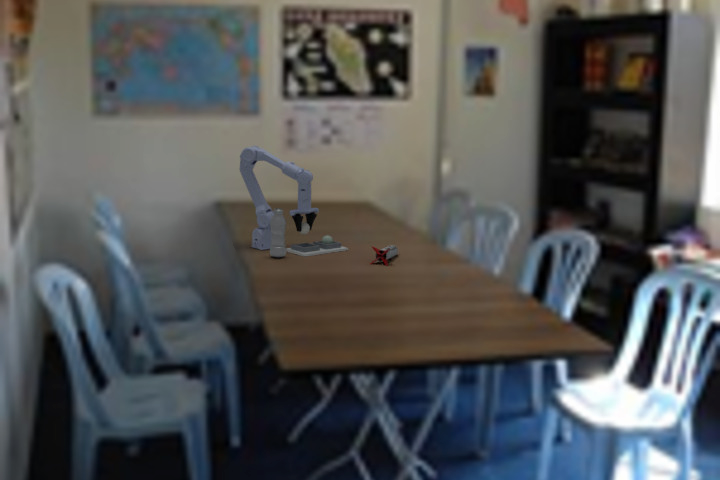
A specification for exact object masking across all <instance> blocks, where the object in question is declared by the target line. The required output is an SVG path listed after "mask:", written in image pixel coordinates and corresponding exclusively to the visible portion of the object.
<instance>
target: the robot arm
mask: <svg viewBox="0 0 720 480" xmlns="http://www.w3.org/2000/svg"><path fill="white" fill-rule="evenodd" d="M239 159H240V160H239V161H240V162H239V172H240V175H241V178H242V179H243V182H244V183H245V186H246V189H247V191H248V194H249V195H250V198H251V201H252V203H253V205H254V208H255V215H256V223H257V225H258V226H257V227H256V228H254V229H253V231H252V234H251V237H252V239H251V246H250V248H254V249H257V250H260V251H262V250H270V246H271V226H270V220H271V218H272V217H273V216H274V210H272V207H271V206H270V205H269V204H268V203H267V200H266V198H265V195H264V194H263V190H262V189H261V186H260V184H259V182H258V179H257V176H256V175H255V172H254V168H255V166H256V164H257V162H263V161H264V162H266V163H269V164H271V165H273V166H274V167H276V168H278V169H280V170H281V172H282V174H284V175H285V176H287V177H288V178H290V179H292V180H294V181H296V182H297V209H291V210H289V216H291V218H292V220H293V222H294V224H295V228H296V231H297V232H299V233H300V232H301V228H302V223H303V219H304V216H303V215H305V219H306V221H305V222H306V223H307V224H308V225H309V226H310V230H309V231H312V227H313V224H314V223H315V222H314V221H315V220H316V218H317V216H318V215H317V214H319V212H320V209H319V208H317V207H312V181H313V180H314V175H313V173H312V172H311V171H310V170H309V169H305V168H304V167H300V166H298V165H297V164H295V162H294V161H286V162H285V161H283V160H282V159H280V158H279V157H277V156H275V155H274V154H272V153H271V152H269V151H267V150H266V149H265V148H262V147H259V146H258V145H252V146H249V147H248V146H246V147H245V148H243V150H242V151H241V152H240V155H239Z"/></svg>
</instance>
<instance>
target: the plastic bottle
mask: <svg viewBox="0 0 720 480" xmlns="http://www.w3.org/2000/svg"><path fill="white" fill-rule="evenodd" d="M273 212H274V216H273V217H272V218H271V220H270V226H271V246H270V249H269V254H270V256H271V257H273V258H277V259H278V258H283V257H285V256H286V254H287V252H286V248H287V247H286V242H285V241H286V238H285V234H286V228H287V221H286V218H285V217H284V215H283V214H284V209H283V208H273Z"/></svg>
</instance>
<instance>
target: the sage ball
mask: <svg viewBox="0 0 720 480" xmlns="http://www.w3.org/2000/svg"><path fill="white" fill-rule="evenodd" d="M321 241H322V243H323V244H333V241H334V240H333V237H332V236H331V235H324V236H323V237H322V239H321Z"/></svg>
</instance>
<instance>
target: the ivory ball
mask: <svg viewBox="0 0 720 480" xmlns="http://www.w3.org/2000/svg"><path fill="white" fill-rule="evenodd" d="M310 231H311V230H310V226H309V225H308V224H307V222H306V221H302V228H301V232H299V233H300V234H302V235H306V234H308V233H309V232H310Z"/></svg>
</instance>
